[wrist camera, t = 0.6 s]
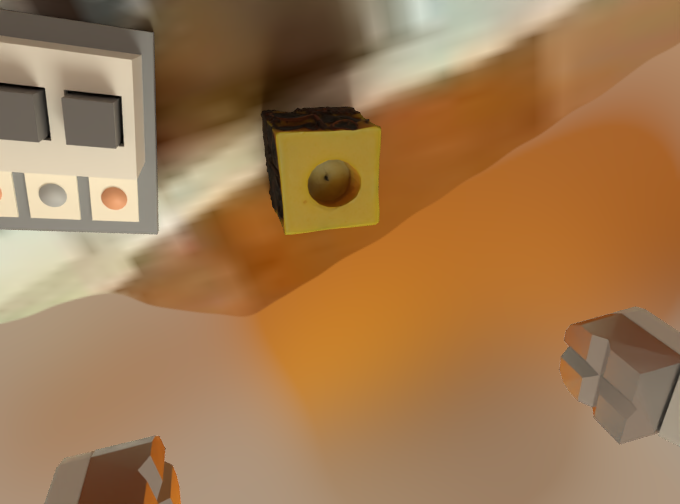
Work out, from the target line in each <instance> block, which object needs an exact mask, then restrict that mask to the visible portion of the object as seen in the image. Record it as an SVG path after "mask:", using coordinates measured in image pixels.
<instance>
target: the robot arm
mask: <svg viewBox="0 0 680 504" xmlns="http://www.w3.org/2000/svg"><path fill="white" fill-rule="evenodd" d="M564 341H565V342H566V343H567V345H568V346H569V347H568V348H567V350H566V351H565V352H564V353H563V355H562V356H561V359H560V367H559V370H560V374H561V377H562V381H563V383H564V384H565V386H566V388H567V390H568V391H569V392H570V393H571V395H572V396H573V397H574V398H575V399H576V400H577V401H579V402H581V403H583V404H586V405H588V406H591V407H592V409H593V415H594V419H595V420H596V421H597V422H598V423H599V424H600V425H601V426H602V427H603V428H604V429H605V430H606V431H607V432H608V433H609V434H610V435H611V436H612V437H613V438H614V439H615V440H616V441H617V442H618V443H619V444H622V443H626V442H629V441H633V440H636V439H640V438H643V437H647V436H650V435H653V434H657V433H659V434H658V436H660V437H662V438H664V439H665V440H667V441H669V442H671V443H673V444H675V445H677V446H679V447H680V332H679V331H677V330H676V329H674V328H673V327H671V326H670V325H668V324H667V323H665V322H664V321H662V320H661V319H659V318H658V317H656V316H655V315H653V314H652V313H650V312H649V311H647V310H646V309H642V308H639V307H632V308H629V309H625V310H621V311H618V312H614V313H612V314H607V315H603V316H600V317H596V318H592V319H589V320H585V321H582V322H578V323H574V324H571V325H570V326H569V327H568V328H567V330H566V332H565V337H564ZM165 449H166V448H165V446H164V444H163V442H162V440H161V438H160V436H152V437H148V438H143V439H139V440H135V441H131V442H127V443H122V444H118V445H114V446H110V447H106V448H102V449H98V450H95V451H92V452H88V453H83V454H79V455H75V456H71V457H67V458H64V459H63V460H62V461H61V463H60V464H59V465H58V467H57V468H56V471H55V474H54V477H53V480H52V483H51V485H50V489H49V492H48V494H47V498H46V500H45V503H44V504H181V498H180V486H179V482H178V479H177V474H176V472H175V470H174V467H173V465H171V464H169V463H167V462H165V461H164V460H165Z"/></svg>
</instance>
